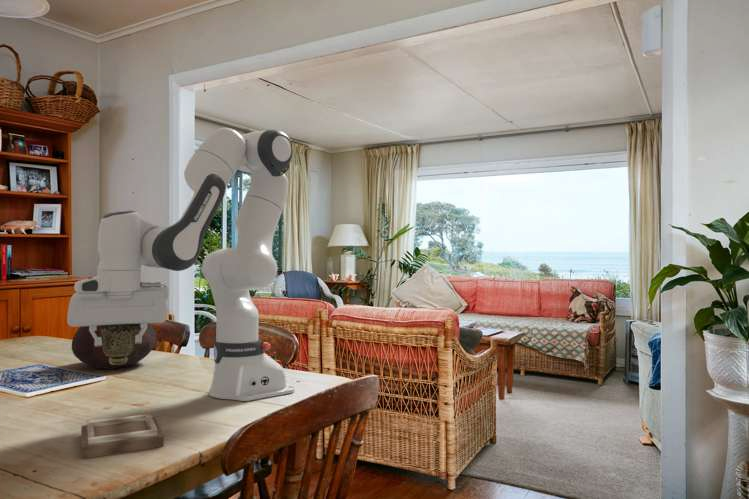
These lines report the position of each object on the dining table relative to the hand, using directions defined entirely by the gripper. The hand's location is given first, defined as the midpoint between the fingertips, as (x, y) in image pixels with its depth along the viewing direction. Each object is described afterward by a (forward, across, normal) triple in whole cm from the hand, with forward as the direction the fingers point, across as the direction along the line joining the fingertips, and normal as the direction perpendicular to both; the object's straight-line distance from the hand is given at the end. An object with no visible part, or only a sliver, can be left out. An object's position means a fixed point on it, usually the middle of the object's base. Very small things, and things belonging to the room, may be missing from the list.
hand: (118, 344), depth 122 cm
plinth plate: (+17, 0, +15) cm, 23 cm away
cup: (+4, 0, 0) cm, 4 cm away
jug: (+17, -3, -64) cm, 66 cm away
